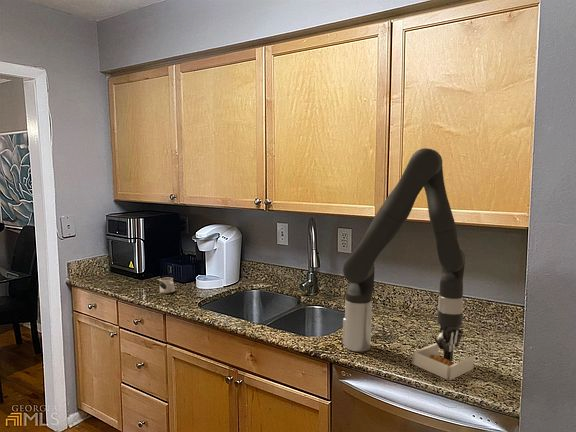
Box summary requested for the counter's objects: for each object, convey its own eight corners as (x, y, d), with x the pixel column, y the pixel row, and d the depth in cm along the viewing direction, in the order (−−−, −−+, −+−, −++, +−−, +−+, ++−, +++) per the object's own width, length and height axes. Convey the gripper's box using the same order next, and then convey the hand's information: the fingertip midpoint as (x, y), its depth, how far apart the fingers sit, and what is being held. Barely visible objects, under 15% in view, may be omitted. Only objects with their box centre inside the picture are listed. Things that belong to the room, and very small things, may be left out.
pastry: (461, 370, 137) (461, 359, 136) (453, 378, 131) (454, 366, 131) (431, 362, 143) (432, 351, 142) (423, 369, 137) (424, 358, 137)
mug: (157, 291, 222) (156, 279, 221) (168, 289, 227) (167, 276, 226) (168, 295, 215) (168, 282, 214) (179, 292, 220) (179, 279, 219)
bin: (412, 363, 141) (412, 352, 140) (436, 354, 148) (436, 342, 148) (449, 380, 130) (449, 367, 129) (473, 368, 137) (473, 356, 137)
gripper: (451, 302, 145) (449, 352, 147) (427, 310, 138) (425, 362, 140) (472, 308, 139) (470, 359, 141) (448, 316, 132) (446, 371, 133)
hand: (448, 361), depth 140 cm, fingers closed
